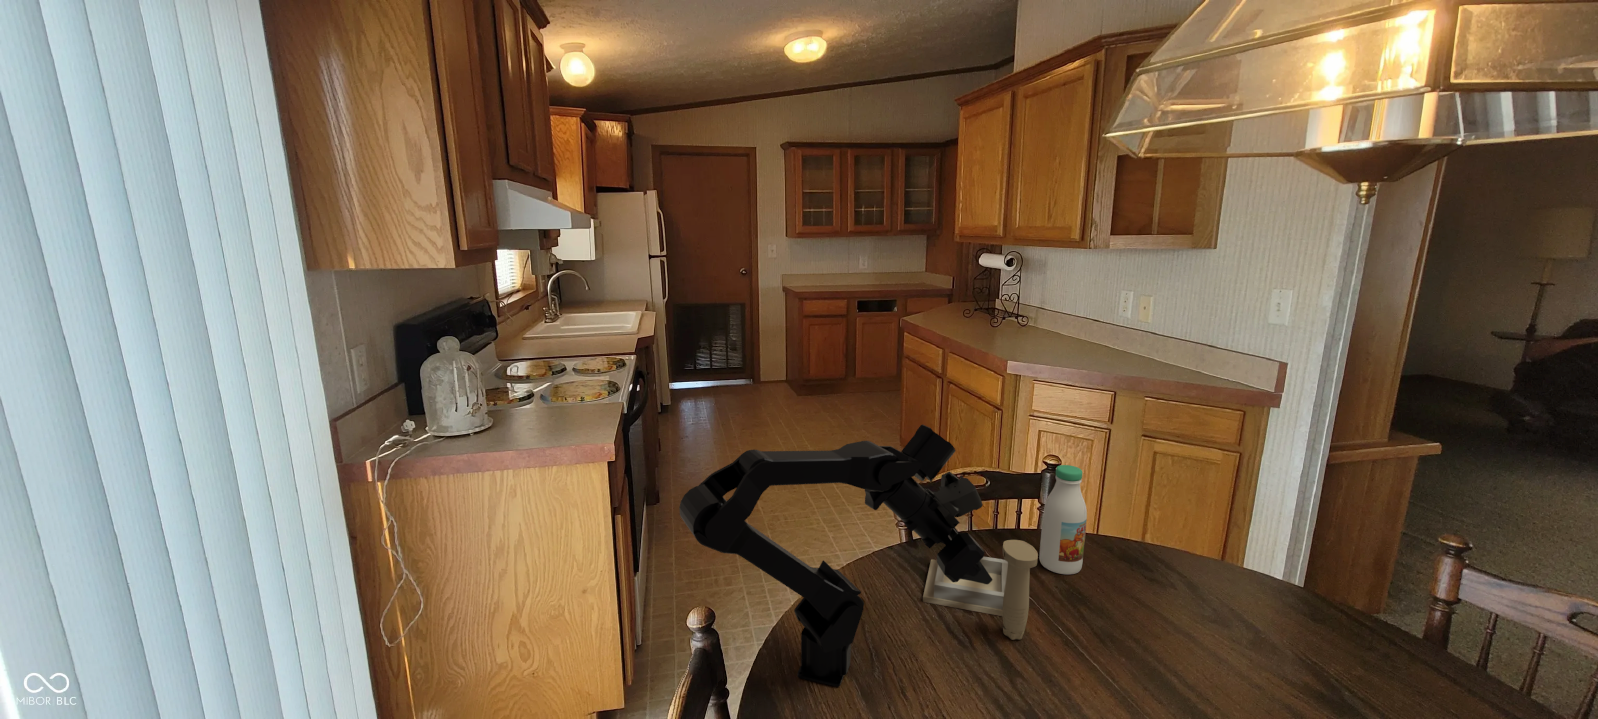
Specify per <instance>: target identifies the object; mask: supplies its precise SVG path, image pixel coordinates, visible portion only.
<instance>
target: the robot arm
mask: <svg viewBox="0 0 1598 719" xmlns="http://www.w3.org/2000/svg"><path fill="white" fill-rule="evenodd" d="M955 452H956V448H955V447H954V445H953V444H952V443H951V442H949V441H948V440H946V439H945V438H943V437H942V436H941V435H940V434H938V433H937V432H935V431H934V430H933V429H932V428H931V427H930V426H928V425H925V424H920V426H918V428H917V430H916V431H915V433H914V435H913V436H912V437H911V438H910V439H909V441H908V442H907V443H906V445H905V446H904V448H902V450H899V449H896V448H895V447H894V446H891V445H878V444H876V443H874V442H872V441H870V440H861V441H856V442H850V443H846V444H845V445H843V446H841V447H839V448H837V449H833V450H832V449H831V450H769V451H768V450H767V451H766V450H765V451H763V450H762V451H761V450H759V449H750V450H746V451H744V452H743V453H741V455H739V456H738V457H737V458H735V460H733V461H732V462H731V463H728V464H727V465H726V466H723V467H721V468H719V469H717V470H716V471H714V472H712V473H711V474H709V475H708V476H707V477H706V478H705V479H704V480H703V481H702V482H701V483H700V484H699V485H697V486H694V487H692V488H690V489H689V490H688V491H687V492H686V493H685V494H684V495H683V497H682V498H681V500H680V503H679V508H678V510H679V516H680V518H681V519H682V521H683V522H684V524H685V526H687V528H688V530H689V531H690V532H691V534H692V535H693V536H694V538H695V539H696V541H697V542H698V543H699V544H700V545H702V546H703V547H706V548H708V549H711V550H713V551H715V552H718V553H721V554H729V555H738V556H739V557H741V558H743V559H744V560H746V561H747V562H749V563H751V564H752V565H753V566H755V567H756V568H758V569H759V570H761V571H762V572H764V573H765V574H767V575H768V576H770V577H771V578H773V579H775V580H776V581H778V582H779V583H781V585H784V586H785V587H787V588H789V589H790V590H792V591H793V592H794V593H796V594H798V595H799V596H801V597H802V599H801V600H800V601H799V603H798V604H797V605H796V606H795V608H794V611H793V612H794V615H795V616H796V618H797V619H796V620H797V622H800V624H802V626H803V629H802V630H801V633H800V666H799V669H798V671H797V673H796V676H797V678H798V679H802V680H805V681H811V682H816V683H819V684H822V685H823V684H824V685H828V686H833V687H835V688H837V687H840V686H841V685H842V682H843V679H844V676H847V674H848V671H849V668H850V667H851V666H850V665H851V648H852V646H851V645H852V644H853V642H854V639H855V637H856V633H857V632H858V631H857V630H858V627H859V624H860V622H861V619H862V615H863V612H864V606H865V602H864V600H863V599H862V598H861V596H859V595H860V594H862V591H861V590H859V588H858V587H857V586H856V585H855V584H854V583H852V582H851V580H850V579H849V578H847V577H846V576H845V575H844V574H843V573H842V572H841V571H840V570H839V569H836V568H832V567H831V566H830V565H829V563H827V562H826V561H825V559H823V560H822V561H821V563H820V566H819V567H812V566H810V565H809V564H807V563H806V562H805V561H803V560H801V559H800V558H798V556H796V555H794V554H793V553H791V552H790V551H789V550H787V549H786V548H784V547H782V545H780V544H778V543H777V542H776V541H774V540H773V539H771V538H770V537H768V536H767V535H766V534H764V533H763V532H761V531H760V530H758V529H757V528H755V527H754V526H752V525H751V524H749V522H747V521H746V520H747V519H748V518H749V517H750V515H752V512H753V511H754V509H755V507H756V505H757V503H758V502H759V500H760V499H761V496H762V494H764V493H765V491H766V490H767V489H768V488H770V487H773V486H774V487H775V486H797V485H798V486H799V485H819V484H821V485H822V484H845V485H849V486H852V487H855V488H859V489H862V490H864V492H865V496H864V504H865V505H866V506H867V507H869V508H871V509H872V510H874V511H877V510H878V509H880V507H881V506H882V504H884V505H885V506H886V507H887V508H888V509H889V510H891V512H893V513H894V514H895V515H896V516H897V517H898V518H899V519H900V520H901V521H902V522H903V523H904V525H905V527H906V529H907V530H908V531H910V533H913V532H914V533H915V534H917V535H918V537H920V538H921V540H922V542H923V543H924V545H925V546H926V547H927V548H928V549H930V550H931V549H932V547H934V546H935V544H936V545H938V544H943V545H945V546H944V547H943V548H942V549H940V551H938V552H937V553H936V560H937V563H938V565H939V567H940V568H941V570H942V572H943V573H944V575H945V576H946V577H948V578H949V579H950V580H951V581H952V582H958V581H959V580H960V579H963V580H969V581H974V582H978V583H983V584H989V583H990V582H991V581H992V578H991V576H990V575H989V573H988V572H987V570H986V569H985V567H984V566H983V565H982V563H981V562H980V560H981V559H982V558H983V557H985V551H984V550H983V548H982V547H981V546H980V544H979V543H978V542H977V541H976V540H975V539H974V538H973V537H972V535H971V534H969V533H968V532H959V531H958V529H957V528H956V527H957V526H958V525H959V524H960V521H959V520H958V519H957V518H960V517H962V516H964V515H967V514H968V513H970V512H972V511H977V510H979V509H982V507H983V501H982V498H981V497H980V495H979V493H978V489H977V488H976V486H975V485H974V483H972V481H971V480H970V479H969V478H967V477H964V476H962V475H960V476H959V478H958V477H957V476H956V475H955V474H954V473H952V472H951V471H946V472H945V473H943V474H941V478H940V485H939V486H938V488H939V490H937V491H932V490H930V489H929V488H926V487H924V488H923V486H921V485H920V483H918V482H917V480H915V478H916V479H918V480H919V481H921V482H924V481H925V480H926V479H927V480H928V481H929V482H932V481H933V480H934V479H935V478H936V477H937V475H939V473H940V472H941V470H942V469H943V468H944V467H945V465H946V464H947V463H948V461H949V460H950V459H951V458H952V456H953V455H954V454H955ZM913 477H915V478H913ZM733 490H734V491H733ZM731 491H733V493H732V495H731V497H729V498H728V499H727V500H726V499H725V497H724V496H725V495H726V494H727V493H730V492H731Z"/></svg>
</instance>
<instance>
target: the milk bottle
mask: <svg viewBox="0 0 1598 719" xmlns="http://www.w3.org/2000/svg"><path fill="white" fill-rule="evenodd" d="M1082 479H1083V470H1082V469H1081V468H1079V467H1077V466H1074V465H1070V464H1067V465H1066V464H1061V465H1058V466H1056V469H1055V480H1056V481H1055V483H1054V486H1053V488H1052V490H1051V491H1050V493H1049V494H1048V496H1047V499H1046V500H1045V503H1044V506H1043V507H1044V508H1043V513H1042V523H1041V533H1040V544H1039V546H1040V547H1039V554H1038V556H1039V557H1038V558H1039V562H1040V564H1041V565H1042V566H1043V567H1044V568H1045V569H1046V570H1049V571H1051V572H1053V573H1056V574H1061V575H1074V574H1077V573H1079V572H1080V571H1081V570H1082V567H1083V561H1084V560H1083V559H1084V551H1085V543H1086V542H1085V540H1086V533H1087V532H1086V531H1087V519H1088V511H1087V504H1086V502H1085V501H1086V500H1085V499H1084V497H1083V494H1082V490H1081V483H1082V482H1083V481H1082Z"/></svg>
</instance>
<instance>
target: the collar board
mask: <svg viewBox="0 0 1598 719" xmlns="http://www.w3.org/2000/svg"><path fill="white" fill-rule="evenodd" d="M980 562H981V563H982V565H983V566H984V567H985V569H986V570H987V572H988V573H989V575H990V576H991V578H992V581H991V582H990V583H989V584H983V583H978V582H974V581H969V580H963V579H960V580H959V581H958V582H952V581H951V580H950V579H949V578H948V577H946V576H945V575H944V573H943V572H942V570H941V568H940V567H939V565H938V563H937V559H932V558H931V560H930V564H929V568H928V573H927V576H926V582H925V586H924V590H923V591H924V592H923V596H922V602H923V603H927V604H933V605H940V606H945V607H951V608H955V609H960V610H961V609H962V610H967V611H972V612H976V613H977V612H978V613H981V614H982V613H983V614H988V615H995V616H999V617H1003V597H1004V590H1005V584H1006V577H1007V569H1008V562H1007V561H1006V560H1005V559H1004V558H1003V559H1002V558H995V557H988V556H984V557H983V558H982V559H981V560H980Z"/></svg>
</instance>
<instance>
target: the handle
mask: <svg viewBox="0 0 1598 719" xmlns="http://www.w3.org/2000/svg"><path fill="white" fill-rule="evenodd" d="M1002 544H1003V545H1002V556H1003V560H1006V561H1007V562H1008V569H1007V577H1006V584H1005V590H1004V597H1003V616H1002V624H1003V626H1002V633H1003V634H1004V635H1005V636H1006V637H1008V638H1009V639H1010V640H1013V641H1014V640H1022V639H1023V635H1024V634H1025V630H1026V626H1027V621H1028V616H1029V608H1030V572H1031V568H1035V567H1036V566H1037V565H1038V558H1039V557H1038V556H1039V554H1038V551H1037V550H1036V549H1035V547H1034V546H1033V545H1031V544H1030V543H1028V542H1026V541H1025V540H1019V539H1008V540H1004V541H1003V543H1002Z"/></svg>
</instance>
